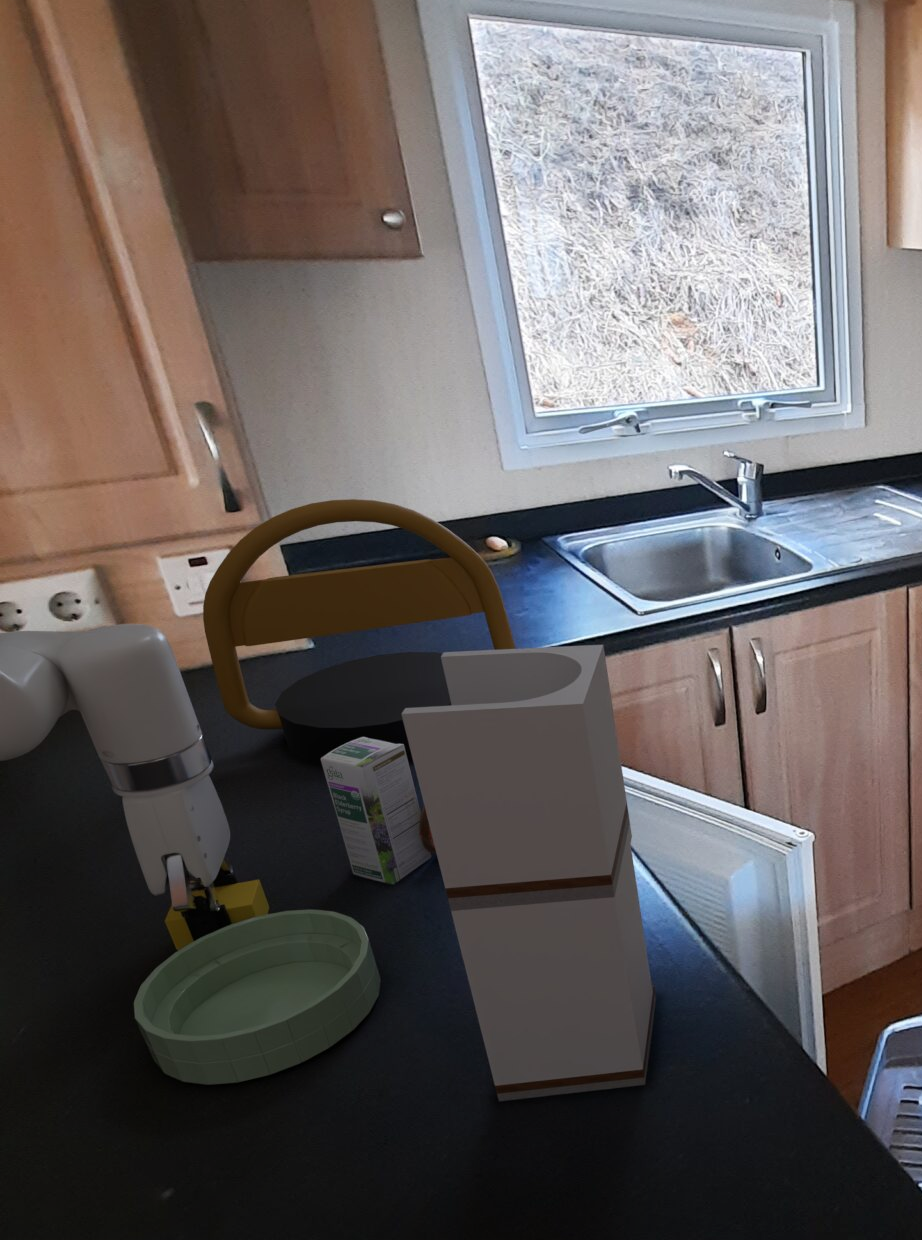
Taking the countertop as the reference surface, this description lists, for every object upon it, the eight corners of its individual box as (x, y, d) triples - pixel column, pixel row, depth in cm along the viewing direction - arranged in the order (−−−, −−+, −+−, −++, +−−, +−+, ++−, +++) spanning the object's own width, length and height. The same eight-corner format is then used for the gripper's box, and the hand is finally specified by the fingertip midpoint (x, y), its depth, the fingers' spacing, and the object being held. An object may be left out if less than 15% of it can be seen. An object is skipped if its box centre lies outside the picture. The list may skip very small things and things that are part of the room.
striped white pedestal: (656, 1001, 96) (603, 644, 80) (645, 1088, 86) (583, 703, 70) (525, 1014, 94) (443, 652, 78) (499, 1104, 84) (401, 713, 68)
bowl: (131, 1116, 83) (107, 1064, 80) (181, 981, 97) (162, 934, 94) (374, 1058, 89) (358, 1008, 86) (388, 939, 103) (375, 893, 100)
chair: (539, 739, 141) (495, 507, 127) (234, 797, 126) (145, 543, 112) (515, 673, 161) (474, 465, 146) (248, 716, 146) (174, 491, 132)
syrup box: (351, 877, 112) (315, 758, 106) (394, 848, 117) (362, 733, 111) (394, 887, 111) (360, 767, 104) (435, 858, 116) (405, 741, 109)
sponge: (176, 951, 99) (164, 920, 97) (187, 923, 102) (175, 894, 101) (262, 933, 101) (251, 904, 99) (269, 907, 105) (259, 878, 103)
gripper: (133, 729, 99) (196, 888, 107) (78, 817, 85) (155, 991, 93) (226, 716, 101) (280, 873, 110) (186, 799, 88) (252, 971, 96)
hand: (222, 926), depth 101 cm, fingers closed on sponge, 4 cm apart
